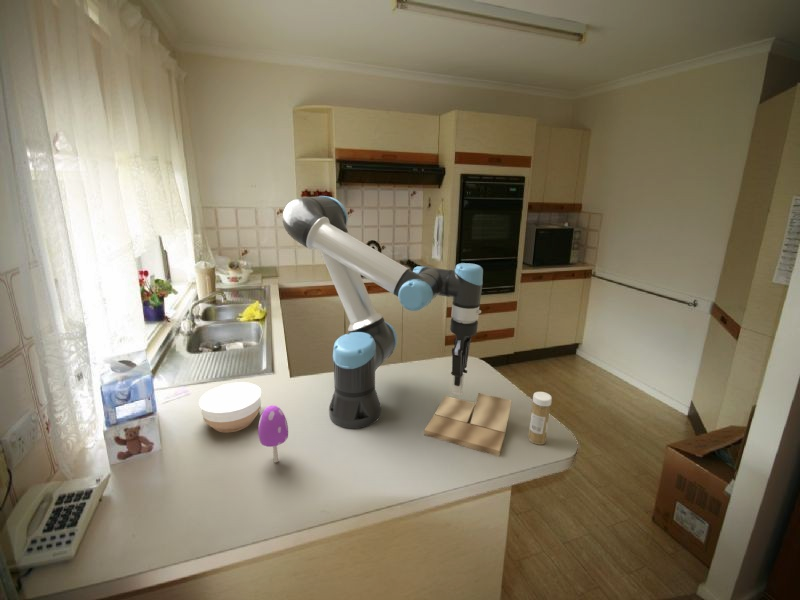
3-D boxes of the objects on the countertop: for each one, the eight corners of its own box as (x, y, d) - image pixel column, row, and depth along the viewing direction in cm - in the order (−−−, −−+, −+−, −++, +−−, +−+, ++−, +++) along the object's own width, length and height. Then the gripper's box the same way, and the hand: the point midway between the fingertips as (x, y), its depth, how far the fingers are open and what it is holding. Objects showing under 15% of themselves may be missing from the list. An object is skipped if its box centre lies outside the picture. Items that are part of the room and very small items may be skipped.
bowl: (238, 400, 120) (236, 377, 118) (275, 415, 113) (273, 391, 110) (189, 426, 107) (185, 401, 105) (227, 446, 99) (224, 419, 97)
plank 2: (470, 425, 109) (470, 423, 108) (478, 394, 115) (478, 392, 114) (505, 434, 105) (505, 432, 104) (511, 402, 111) (511, 400, 110)
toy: (274, 474, 90) (269, 418, 86) (255, 463, 93) (249, 408, 89) (296, 458, 95) (292, 404, 91) (277, 448, 99) (273, 396, 94)
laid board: (424, 435, 105) (424, 429, 105) (435, 416, 113) (435, 412, 113) (498, 456, 97) (499, 450, 97) (505, 435, 106) (505, 430, 105)
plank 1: (434, 417, 112) (434, 414, 112) (444, 398, 121) (445, 395, 121) (466, 425, 109) (466, 422, 108) (475, 406, 117) (475, 402, 117)
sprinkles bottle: (549, 441, 103) (555, 396, 100) (538, 447, 101) (544, 401, 97) (534, 432, 107) (540, 389, 103) (523, 438, 105) (529, 393, 101)
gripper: (472, 328, 102) (463, 407, 109) (482, 314, 113) (474, 386, 120) (444, 323, 105) (438, 400, 112) (457, 310, 116) (451, 380, 123)
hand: (457, 393), depth 116 cm, fingers closed
